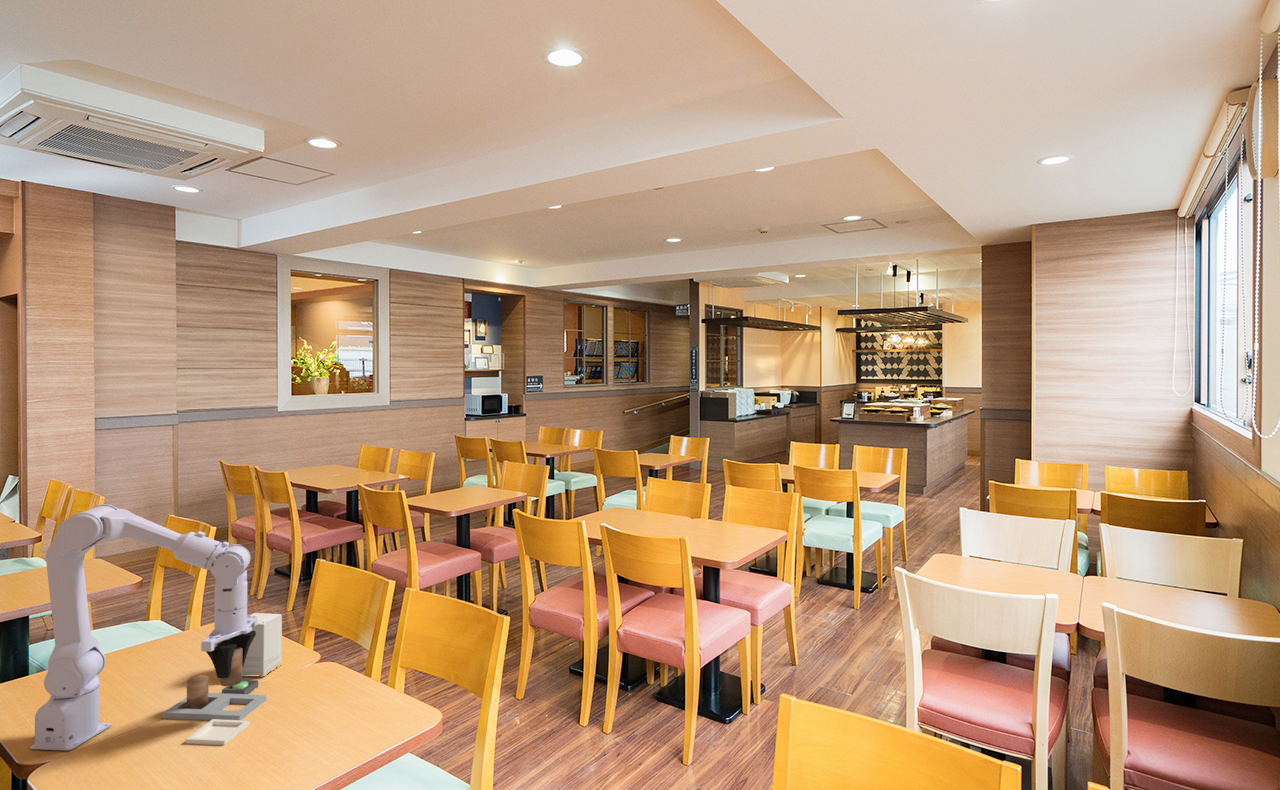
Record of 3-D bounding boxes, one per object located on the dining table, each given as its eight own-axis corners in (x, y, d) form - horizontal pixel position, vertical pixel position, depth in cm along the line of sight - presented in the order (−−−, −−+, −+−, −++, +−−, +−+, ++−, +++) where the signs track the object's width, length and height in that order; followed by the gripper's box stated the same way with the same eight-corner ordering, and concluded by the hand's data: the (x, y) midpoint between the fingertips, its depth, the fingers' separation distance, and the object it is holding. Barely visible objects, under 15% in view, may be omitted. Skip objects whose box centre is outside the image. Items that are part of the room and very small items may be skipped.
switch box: (244, 698, 146) (244, 690, 146) (221, 697, 147) (221, 689, 147) (258, 688, 151) (258, 680, 151) (236, 687, 152) (236, 679, 152)
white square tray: (224, 747, 127) (224, 740, 127) (185, 745, 128) (185, 739, 128) (249, 726, 135) (249, 720, 135) (212, 725, 135) (212, 719, 135)
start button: (242, 695, 147) (242, 687, 147) (229, 695, 148) (229, 687, 148) (251, 689, 150) (251, 681, 150) (238, 689, 151) (238, 681, 150)
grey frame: (239, 723, 136) (239, 715, 136) (162, 719, 137) (163, 712, 137) (266, 702, 145) (266, 695, 145) (194, 699, 146) (194, 692, 146)
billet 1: (200, 714, 139) (200, 683, 139) (182, 714, 139) (182, 683, 139) (212, 706, 143) (212, 675, 143) (195, 705, 143) (195, 675, 143)
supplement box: (283, 665, 164) (283, 613, 164) (263, 678, 157) (263, 624, 156) (254, 663, 165) (255, 611, 164) (233, 676, 157) (233, 622, 157)
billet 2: (233, 686, 136) (233, 654, 136) (215, 685, 136) (216, 653, 136) (246, 678, 140) (246, 647, 139) (229, 677, 140) (229, 646, 140)
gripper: (226, 619, 130) (225, 689, 130) (271, 596, 145) (270, 659, 145) (191, 618, 130) (190, 688, 131) (239, 595, 145) (239, 657, 145)
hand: (230, 672), depth 138 cm, fingers closed on billet 2, 4 cm apart
